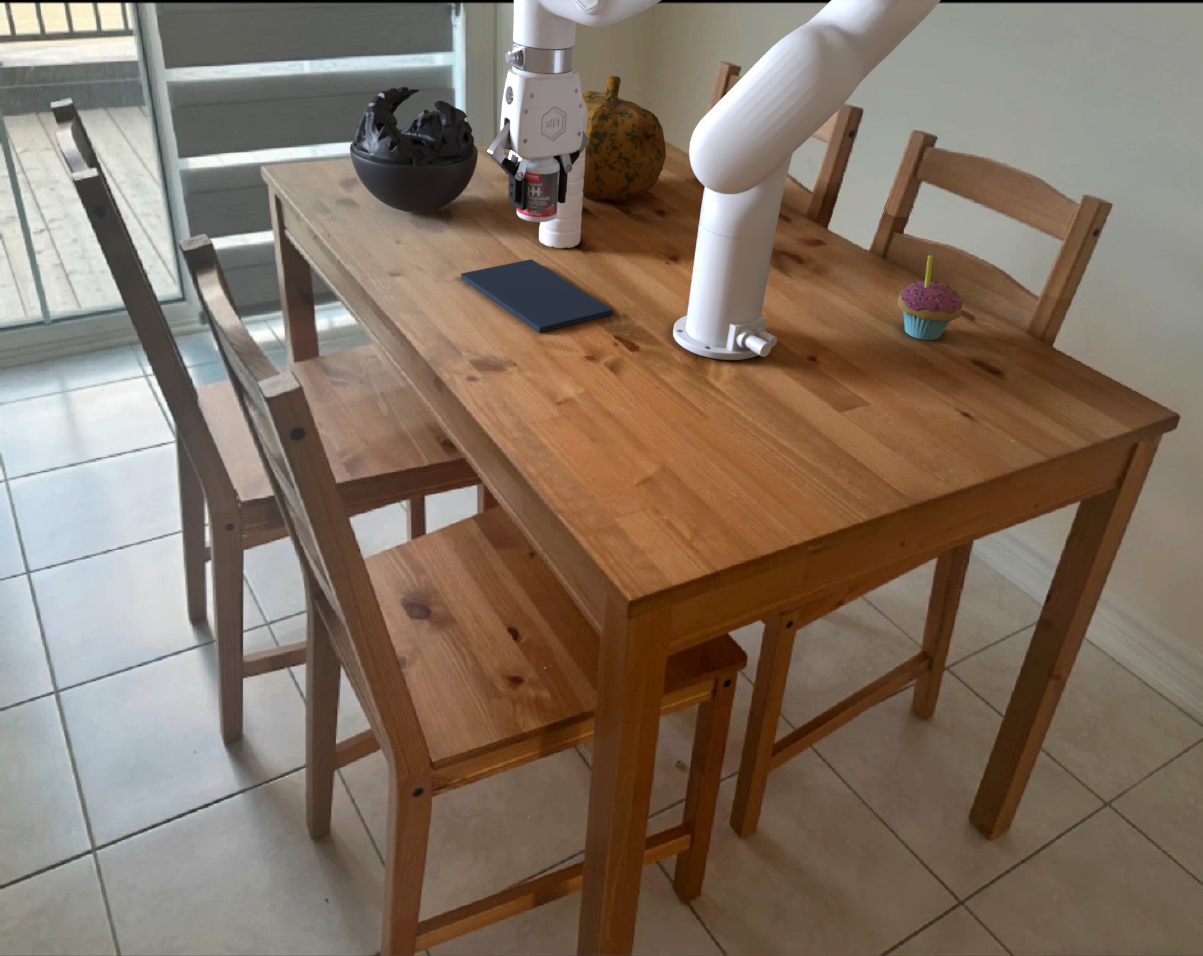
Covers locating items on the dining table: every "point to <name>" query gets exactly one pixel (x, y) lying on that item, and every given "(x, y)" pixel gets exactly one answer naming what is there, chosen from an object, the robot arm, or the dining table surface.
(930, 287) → the cupcake
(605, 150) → the decorative pumpkin
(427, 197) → the black sculptural bowl
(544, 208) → the pill bottle
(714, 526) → the dining table surface
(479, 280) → the mat
